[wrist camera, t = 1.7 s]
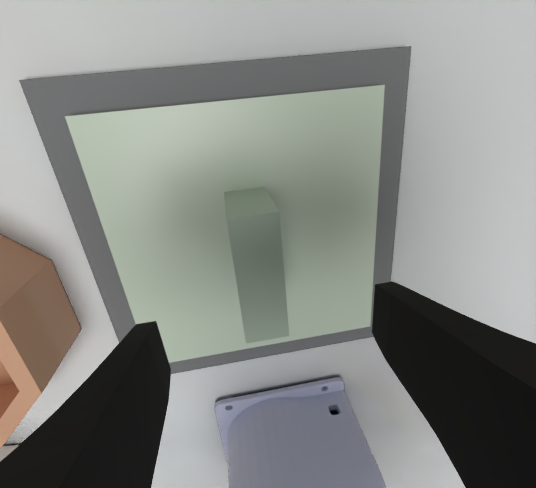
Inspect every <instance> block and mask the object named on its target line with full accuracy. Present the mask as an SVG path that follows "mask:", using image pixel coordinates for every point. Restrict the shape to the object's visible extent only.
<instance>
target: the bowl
mask: <svg viewBox="0 0 536 488" xmlns="http://www.w3.org/2000/svg"><path fill="white" fill-rule="evenodd" d="M80 331H81V327H80V325H79V322H78V320H77V318H76V315H75V313H74V311H73V309H72V306H71V304H70V302H69V299H68V297H67V295H66V293H65V290H64V288H63V286H62V283H61V281H60V279H59V277H58V274H57V272H56V270H55V267H54V265H53V263H52V261H51V260H49V259H47V258H46V257H44V256H42V255H40V254H38V253H36V252H34V251H32V250H30V249H28V248H26V247H24V246H22V245H20V244H18V243H16V242H14V241H12V240H10V239H8V238H6V237H4V236H2V235H0V449H1V448H2V446H3V445H4V443H5V442H6V441H7V439H8V438H9V437H10V435H11V434H12V433H13V431H14V430H15V428H16V427H17V426H18V424H19V423H20V422H21V420H22V419H23V418H24V416H25V415H26V413H27V412H28V411H29V409H30V408H31V407H32V405H33V404H34V403H35V401H36V400H37V399H38V397H39V396H40V394H42V392H43V390H44V389H45V387H46V386H47V384H48V382H49V381H50V379H51V378H52V376H53V374H54V373H55V371H56V369H57V368H58V366H59V365H60V363H61V361H62V360H63V358H64V357H65V355H66V353H67V352H68V350H69V349H70V347H71V345H72V344H73V342H74V340H75V339H76V337H77V336H78V334H79V332H80Z"/></svg>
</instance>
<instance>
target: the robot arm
mask: <svg viewBox="0 0 536 488" xmlns="http://www.w3.org/2000/svg"><path fill="white" fill-rule="evenodd" d="M372 334H373V336H374V338H375V340H376V342H377V344H378V346H379V348H380V350H381V352H382V354H383V355H384V357H385V359H386V361H387V362H388V364H389V365H390V367H391V368H392V370H393V371H394V373H395V374H396V376H397V377H398V379H399V380H400V382H401V383H402V385H403V386H404V388H405V389H406V390H407V392H408V393H409V395H410V396H411V398H412V399H413V401H414V402H415V404H416V405H417V406H418V408H419V409H420V411H421V412H422V414H423V415H424V417H425V418H426V420H427V421H428V423H429V424H430V426H431V427H432V429H433V430H434V432H435V434H436V435H437V437H438V438H439V440H440V442H441V444H442V446H443V447H444V449H445V451H446V453H447V454H448V456H449V458H450V460H451V462H452V463H453V465H454V467H455V469H456V470H457V472H458V474H459V476H460V478H461V480H462V482H463V484H464V485H465V487H466V488H536V344H535V343H532V342H529V341H527V340H524V339H521V338H518V337H516V336H513V335H510V334H508V333H505V332H503V331H500V330H498V329H495V328H493V327H490V326H488V325H486V324H483V323H481V322H479V321H476V320H474V319H472V318H469V317H467V316H465V315H463V314H461V313H458V312H456V311H454V310H452V309H450V308H448V307H446V306H443V305H441V304H439V303H437V302H435V301H433V300H431V299H429V298H427V297H425V296H423V295H421V294H419V293H417V292H415V291H412V290H410V289H408V288H406V287H404V286H402V285H399V284H397V283H395V282H386V283H380V284H375V291H374V307H373V322H372ZM170 375H171V368H170V365H169V361H168V358H167V355H166V352H165V348H164V345H163V342H162V338H161V335H160V332H159V329H158V325H157V322H156V321H152V322H146V323H140V324H136V325H135V326H134V327H133V328H132V329H131V330H130V331H129V333H128V334H127V335H126V336H125V337H124V338H123V339H122V341H121V342H120V343H119V344H118V345H117V346H116V347H115V349H114V350H113V351H112V352H111V353H110V354H109V355H108V357H107V358H106V359H105V360H104V361H103V362H102V363H101V364H100V366H99V367H98V368H97V369H96V370H95V371H94V372H93V373H92V374H91V376H90V377H89V378H88V379H87V380H86V381H85V382H84V383H83V384H82V385H81V386H80V387H79V388H78V389H77V390H76V391H75V392H74V393H73V394H72V395H71V396H70V397H69V398H68V399H67V400H66V401H65V402H64V403H63V404H62V406H61V407H60V408H59V409H58V410H57V411H56V412H55V413H53V414H52V415H51V416H50V417H49V418H48V419H47V420H46V421H45V422H44V423H43V424H42V425H41V426H40V427H39V428H38V429H37V430H35V431H34V432H33V433H32V434H31V435H30V436H29V437H28V438H27V439H25V440H24V441H23V442H22V443H21V444H20V445H19V446H18V447H17V448H15V449H14V450H13V451H12V452H11V453H10V454H9V455H7V456H6V457H5V458H4V459H3V460H1V461H0V488H151V484H152V479H153V474H154V469H155V465H156V460H157V455H158V450H159V445H160V440H161V435H162V431H163V426H164V421H165V416H166V411H167V405H168V399H169V388H170ZM228 405H229V406H228ZM215 413H216V417H217V421H218V425H219V430H220V434H221V438H222V442H223V446H224V450H225V454H226V458H227V463H228V476H229V488H386V485H385V482H384V480H383V477H382V474H381V472H380V470H379V467H378V465H377V463H376V460H375V458H374V456H373V454H372V452H371V449H370V447H369V445H368V443H367V440H366V438H365V436H364V434H363V432H362V429H361V427H360V425H359V423H358V421H357V418H356V416H355V414H354V412H353V409H352V407H351V405H350V403H349V401H348V398H347V396H346V394H345V392H344V382H343V380H342V379H341V378H339V377H336V378H331V379H326V380H320V381H315V382H310V383H305V384H300V385H295V386H290V387H285V388H280V389H274V390H269V391H264V392H259V393H254V394H249V395H244V396H239V397H234V398H228V399H223V400H219V401H217V402H216V403H215Z"/></svg>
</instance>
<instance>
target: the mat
mask: <svg viewBox="0 0 536 488" xmlns="http://www.w3.org/2000/svg"><path fill="white" fill-rule="evenodd" d="M410 55H411V46H409V47H397V48H385V49H374V50H362V51H351V52H339V53H328V54H316V55H304V56H293V57H281V58H270V59H258V60H246V61H235V62H223V63H212V64H200V65H189V66H177V67H165V68H154V69H142V70H131V71H119V72H108V73H96V74H84V75H73V76H61V77H50V78H38V79H27V80H19V81H20V84H21V86H22V89H23V92H24V94H25V97H26V99H27V102H28V105H29V107H30V110H31V113H32V115H33V118H34V120H35V123H36V126H37V128H38V131H39V133H40V136H41V139H42V141H43V144H44V147H45V149H46V152H47V154H48V157H49V160H50V162H51V165H52V168H53V170H54V173H55V175H56V178H57V181H58V183H59V186H60V189H61V191H62V194H63V196H64V199H65V202H66V204H67V207H68V210H69V212H70V215H71V217H72V220H73V223H74V225H75V228H76V230H77V233H78V236H79V238H80V241H81V244H82V246H83V249H84V251H85V254H86V257H87V259H88V262H89V265H90V267H91V270H92V272H93V275H94V278H95V280H96V283H97V286H98V288H99V291H100V293H101V296H102V299H103V301H104V304H105V307H106V309H107V312H108V314H109V317H110V320H111V322H112V325H113V327H114V330H115V333H116V335H117V338H118V341H119V343H120V342H121V341H122V339H123V338H124V337H125V336H126V335H127V334H128V333H129V331H130V330H131V329H132V328H133V327H134V326H135V325H136V324H135V321H134V318H133V315H132V312H131V309H130V306H129V303H128V300H127V297H126V294H125V291H124V288H123V285H122V283H121V280H120V277H119V274H118V271H117V268H116V265H115V262H114V259H113V256H112V253H111V250H110V247H109V244H108V242H107V239H106V236H105V233H104V230H103V227H102V224H101V221H100V218H99V215H98V212H97V209H96V206H95V203H94V201H93V198H92V195H91V192H90V189H89V186H88V183H87V180H86V177H85V174H84V171H83V168H82V165H81V162H80V159H79V157H78V154H77V151H76V148H75V145H74V142H73V139H72V136H71V133H70V130H69V127H68V124H67V121H66V118H65V116H74V115H84V114H94V113H104V112H114V111H125V110H135V109H145V108H155V107H165V106H175V105H185V104H195V103H206V102H216V101H226V100H236V99H246V98H256V97H266V96H276V95H287V94H297V93H307V92H317V91H327V90H337V89H347V88H357V87H368V86H378V85H385V90H384V107H383V123H382V140H381V157H380V174H379V190H378V207H377V224H376V240H375V257H374V274H373V291H372V307H371V324H370V327H365V328H359V329H353V330H348V331H342V332H337V333H331V334H326V335H320V336H315V337H309V338H304V339H298V340H293V341H287V342H282V343H276V344H270V345H265V346H259V347H254V348H248V349H243V350H237V351H232V352H226V353H221V354H215V355H210V356H204V357H199V358H193V359H187V360H182V361H176V362H171V363H169V365H170V368H171V374H174V373H179V372H184V371H190V370H195V369H201V368H206V367H212V366H217V365H222V364H228V363H233V362H239V361H244V360H249V359H255V358H260V357H266V356H271V355H277V354H282V353H287V352H293V351H298V350H304V349H309V348H315V347H320V346H325V345H331V344H336V343H342V342H347V341H353V340H358V339H363V338H369V337H374V336H373V334H372V322H373V307H374V291H375V284H380V283H386V282H391V272H392V260H393V249H394V237H395V226H396V215H397V203H398V192H399V180H400V169H401V158H402V146H403V135H404V124H405V112H406V101H407V89H408V78H409V67H410Z"/></svg>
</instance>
